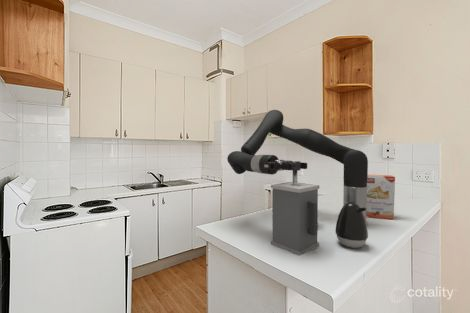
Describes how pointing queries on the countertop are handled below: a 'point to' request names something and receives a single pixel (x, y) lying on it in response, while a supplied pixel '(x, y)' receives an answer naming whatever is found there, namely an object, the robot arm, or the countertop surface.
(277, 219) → the press
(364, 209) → the black egg-shaped dispenser
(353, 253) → the countertop surface
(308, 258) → the countertop surface
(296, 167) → the plunger
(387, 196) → the cracker box
